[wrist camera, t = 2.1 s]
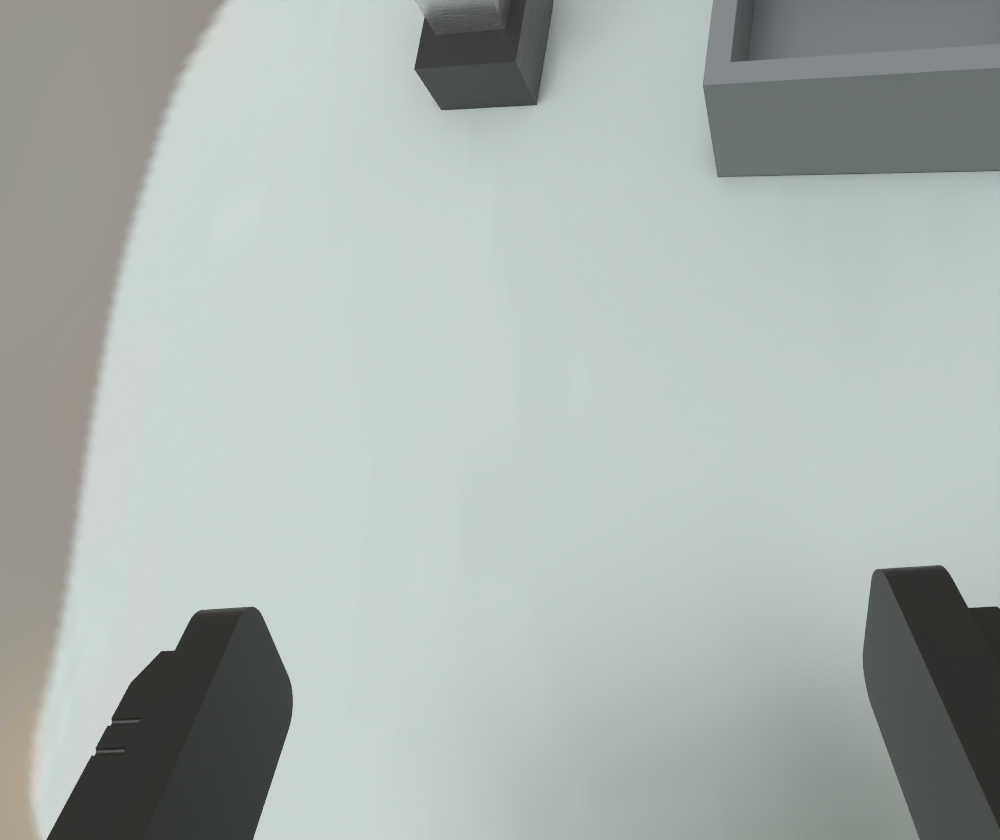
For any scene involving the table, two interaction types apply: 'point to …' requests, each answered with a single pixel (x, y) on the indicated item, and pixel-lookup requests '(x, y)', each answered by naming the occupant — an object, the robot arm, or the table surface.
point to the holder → (853, 86)
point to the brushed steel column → (483, 51)
